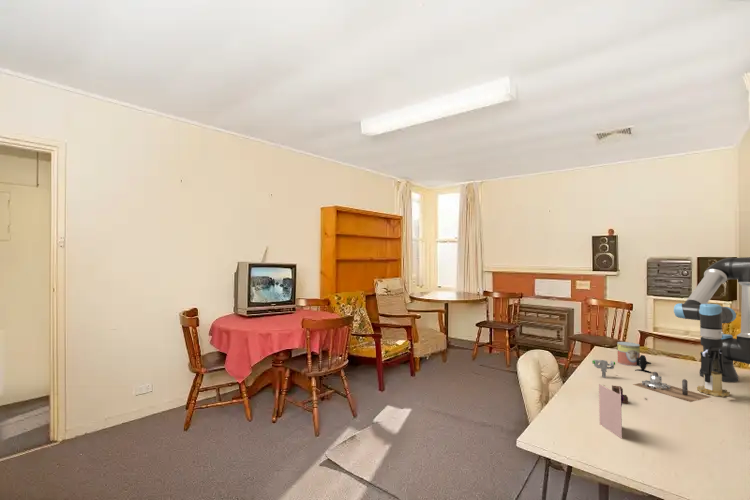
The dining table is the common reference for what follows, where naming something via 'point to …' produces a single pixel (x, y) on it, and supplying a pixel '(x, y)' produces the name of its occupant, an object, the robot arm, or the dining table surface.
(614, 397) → the greeting card
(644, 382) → the steel gear
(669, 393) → the gear board
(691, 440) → the dining table surface
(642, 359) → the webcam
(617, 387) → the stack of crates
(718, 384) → the brass gear
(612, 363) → the mechanical component
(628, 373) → the dining table surface
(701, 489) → the dining table surface
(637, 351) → the canned food
